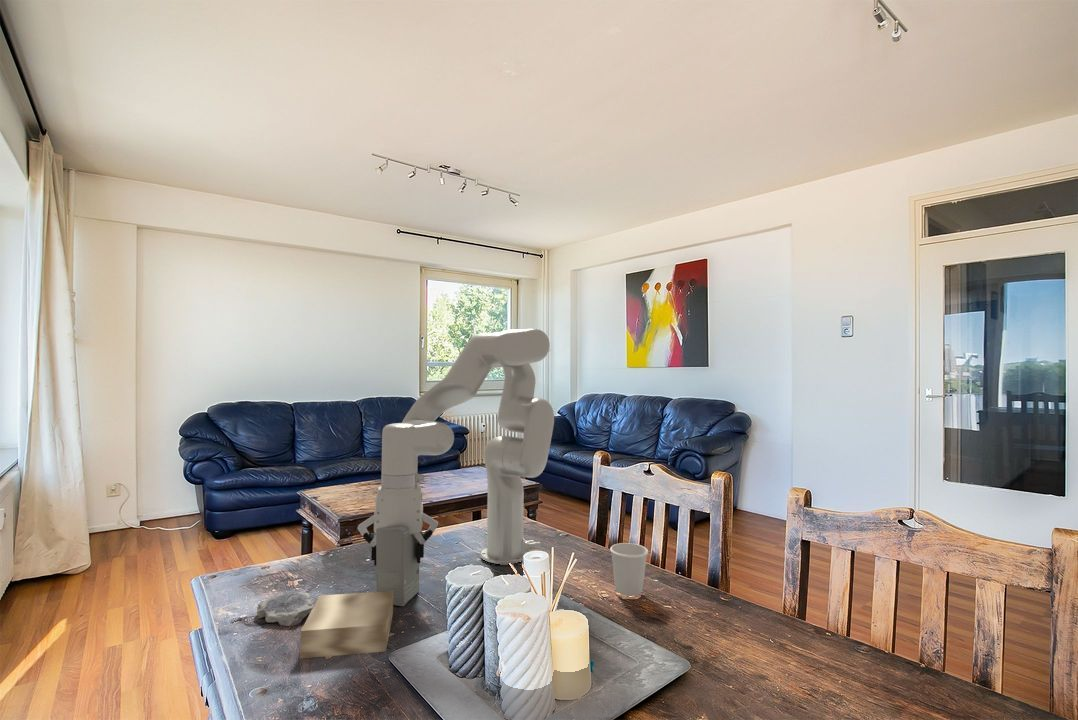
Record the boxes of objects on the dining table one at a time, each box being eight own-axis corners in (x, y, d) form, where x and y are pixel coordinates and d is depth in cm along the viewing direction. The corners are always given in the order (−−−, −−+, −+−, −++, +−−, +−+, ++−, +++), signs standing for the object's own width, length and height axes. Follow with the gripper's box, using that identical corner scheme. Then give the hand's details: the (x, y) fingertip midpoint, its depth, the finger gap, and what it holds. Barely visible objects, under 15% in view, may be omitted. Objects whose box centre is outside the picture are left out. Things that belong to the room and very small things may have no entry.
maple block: (392, 615, 105) (393, 590, 105) (385, 653, 91) (386, 624, 91) (319, 621, 102) (319, 595, 102) (300, 660, 88) (300, 630, 88)
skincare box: (403, 607, 107) (405, 530, 107) (372, 604, 109) (373, 527, 109) (421, 590, 115) (422, 519, 116) (391, 587, 117) (393, 516, 117)
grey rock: (244, 605, 101) (287, 577, 110) (246, 623, 102) (289, 594, 111) (286, 623, 97) (327, 592, 106) (288, 642, 98) (329, 610, 107)
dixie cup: (632, 584, 121) (633, 540, 121) (655, 598, 113) (656, 552, 113) (602, 590, 117) (602, 545, 117) (623, 605, 110) (624, 558, 110)
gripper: (440, 476, 118) (438, 553, 118) (359, 478, 114) (358, 558, 114) (440, 483, 110) (439, 566, 110) (354, 486, 107) (352, 571, 107)
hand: (397, 561), depth 112 cm, fingers closed on skincare box, 8 cm apart
